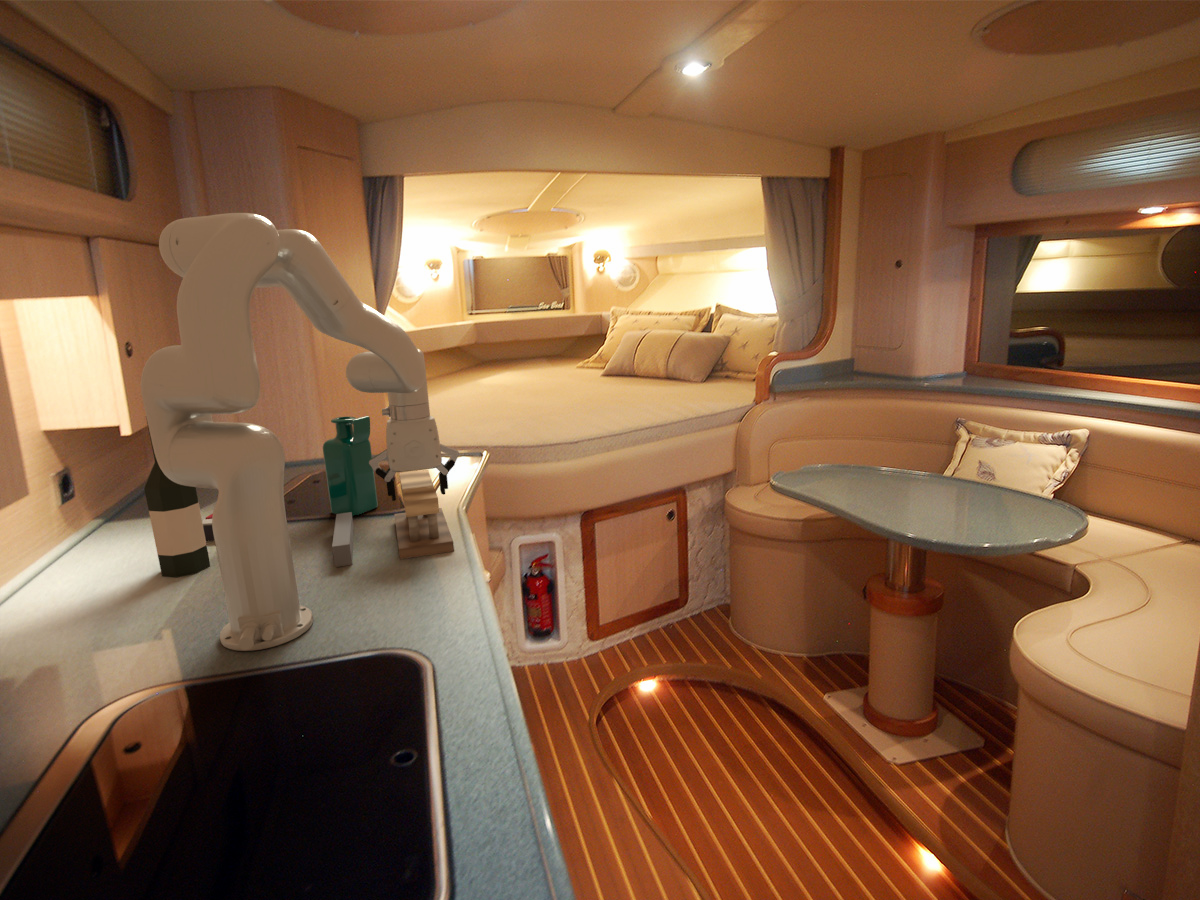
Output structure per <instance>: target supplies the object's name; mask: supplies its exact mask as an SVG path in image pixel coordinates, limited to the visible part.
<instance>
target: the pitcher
mask: <svg viewBox="0 0 1200 900" xmlns="http://www.w3.org/2000/svg"><path fill="white" fill-rule="evenodd" d="M330 423H331V424H335V430H336V436H335V437H332V438H329V439H327V440H326V441H324V442H323V445H322V452H323V453H322V454H323V461H324V467H325V469H324V470H325V475H326V477H325V478H326V481H327V482H326V483H327V490H328V497H329V502H330V505H329V506H330V510H331V513H332V514H333V515H336V514H341V513H348V512H352V517H355V516H354V515H358V516H360V515H359V514H361V515H363V514H365V513H364V512H366V513H368V512H370V511H372V510H374V509H377V508H378V506H379V504H378V503H379V502H378V495H377V488H376V487H377V486H376V478H375V471H374V470H373V468H372V467H371V466H370V464H369V460H370V459H371V458H373V455H372V454H373V453H372V445H371V441H370V436H371V418H370V416H369V415H364V416H360V417H357V418H356V417H355V416H350V415H349V416H339V417H333V418H332V419H330ZM367 511H368V512H367ZM362 513H363V514H362Z"/></svg>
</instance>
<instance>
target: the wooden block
mask: <svg viewBox="0 0 1200 900" xmlns="http://www.w3.org/2000/svg"><path fill="white" fill-rule="evenodd" d="M398 473H399V482H400V489H401V495H402V501H403V507H404V510H405V511H404V513H406V517H412V516H420V515H427V514H434V513H439V508H440V506H439V497H438V494H437V492H436V489H435V486H434V482H433V480H432V477H431V475H430V472H429V469H425V470H417V471H408V472H398Z"/></svg>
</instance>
